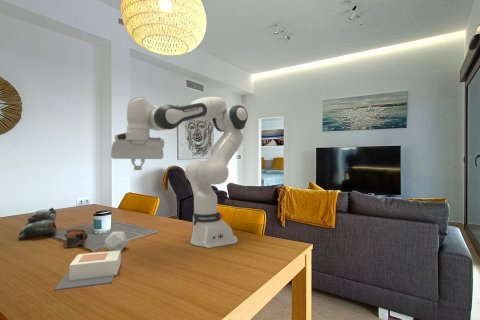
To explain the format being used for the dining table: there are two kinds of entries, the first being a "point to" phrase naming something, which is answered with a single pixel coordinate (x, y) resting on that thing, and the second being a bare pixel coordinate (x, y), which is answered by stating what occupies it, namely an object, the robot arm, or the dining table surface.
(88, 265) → the cream block
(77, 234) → the pottery mug
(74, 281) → the mat
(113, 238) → the die
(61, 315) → the dining table surface
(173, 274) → the dining table surface
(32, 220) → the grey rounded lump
